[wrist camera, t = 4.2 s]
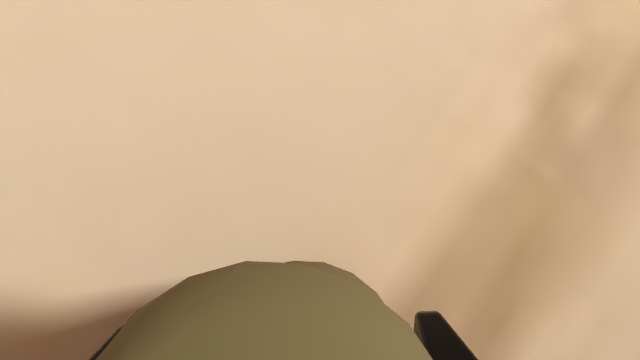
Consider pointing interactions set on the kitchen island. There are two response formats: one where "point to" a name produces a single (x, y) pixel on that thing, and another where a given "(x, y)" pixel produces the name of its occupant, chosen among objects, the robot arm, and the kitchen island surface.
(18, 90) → the kitchen island surface
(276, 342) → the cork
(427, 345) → the robot arm
